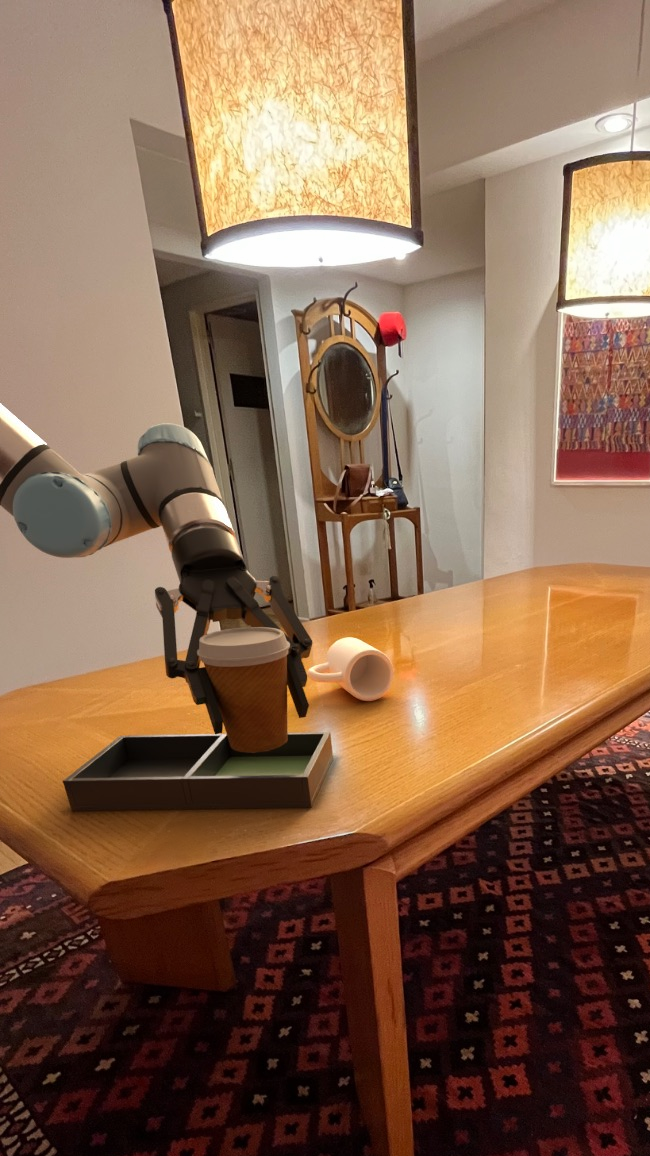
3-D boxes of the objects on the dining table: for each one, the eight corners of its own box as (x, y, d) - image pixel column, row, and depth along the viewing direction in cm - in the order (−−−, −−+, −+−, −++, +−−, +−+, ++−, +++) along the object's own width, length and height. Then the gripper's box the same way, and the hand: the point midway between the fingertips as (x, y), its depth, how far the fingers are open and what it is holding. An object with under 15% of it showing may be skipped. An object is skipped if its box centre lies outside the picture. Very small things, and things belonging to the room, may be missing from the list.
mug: (372, 681, 114) (369, 634, 110) (396, 696, 106) (392, 646, 102) (303, 692, 109) (297, 643, 106) (322, 709, 101) (316, 657, 98)
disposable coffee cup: (315, 730, 79) (303, 627, 74) (279, 761, 71) (262, 648, 65) (242, 725, 81) (224, 624, 76) (198, 755, 73) (175, 645, 67)
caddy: (71, 811, 73) (62, 780, 71) (127, 762, 85) (120, 735, 83) (311, 807, 72) (307, 777, 70) (333, 758, 84) (330, 731, 82)
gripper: (290, 561, 85) (349, 717, 79) (107, 578, 76) (159, 755, 70) (298, 518, 78) (362, 684, 73) (98, 530, 69) (155, 722, 64)
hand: (262, 719), depth 72 cm, fingers closed on disposable coffee cup, 8 cm apart
